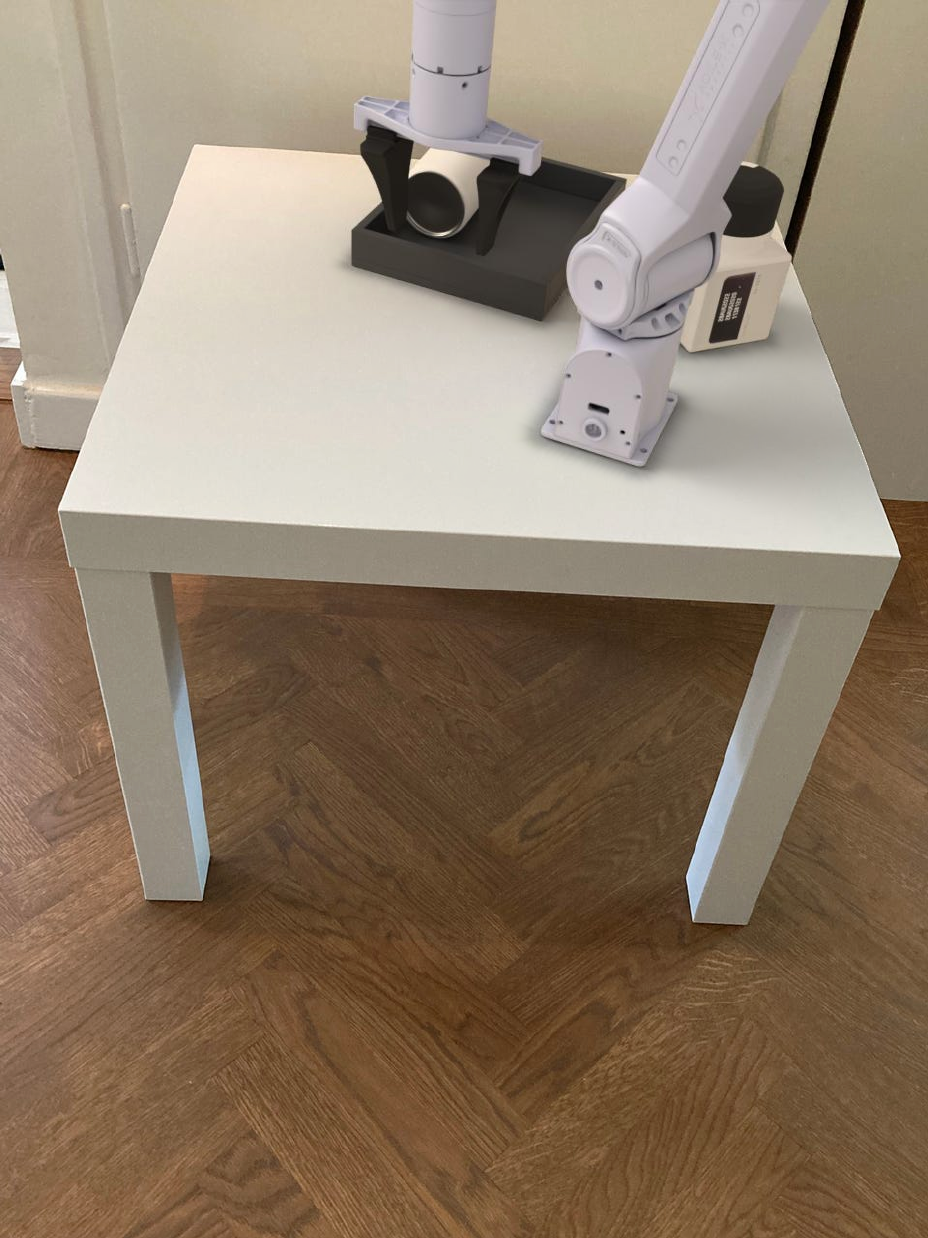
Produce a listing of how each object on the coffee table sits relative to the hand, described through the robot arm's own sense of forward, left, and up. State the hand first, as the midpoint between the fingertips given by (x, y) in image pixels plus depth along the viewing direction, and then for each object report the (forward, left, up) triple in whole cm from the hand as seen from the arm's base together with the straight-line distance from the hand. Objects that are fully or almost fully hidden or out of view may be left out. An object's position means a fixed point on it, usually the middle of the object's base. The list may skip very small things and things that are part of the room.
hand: (440, 237), depth 92 cm
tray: (+13, 0, -6) cm, 14 cm away
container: (+9, -21, -6) cm, 23 cm away
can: (+8, +4, -2) cm, 9 cm away
